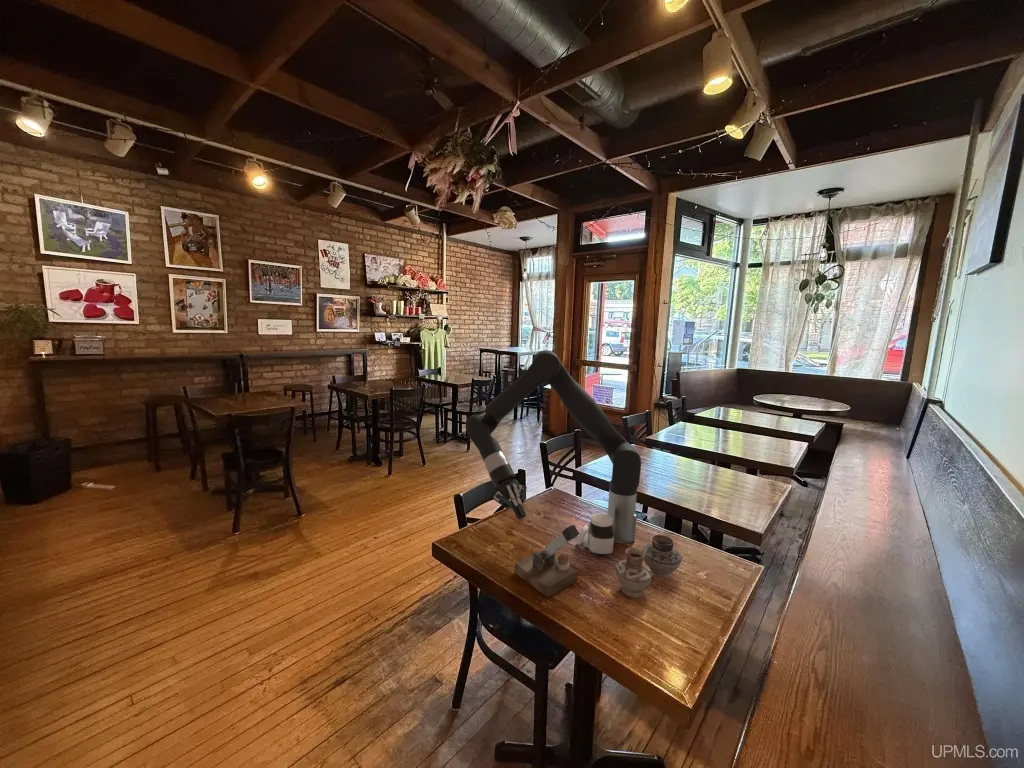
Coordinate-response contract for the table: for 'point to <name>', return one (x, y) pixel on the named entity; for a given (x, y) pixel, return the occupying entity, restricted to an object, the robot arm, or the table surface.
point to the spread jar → (599, 535)
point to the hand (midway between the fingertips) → (522, 518)
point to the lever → (560, 542)
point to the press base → (546, 572)
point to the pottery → (656, 557)
